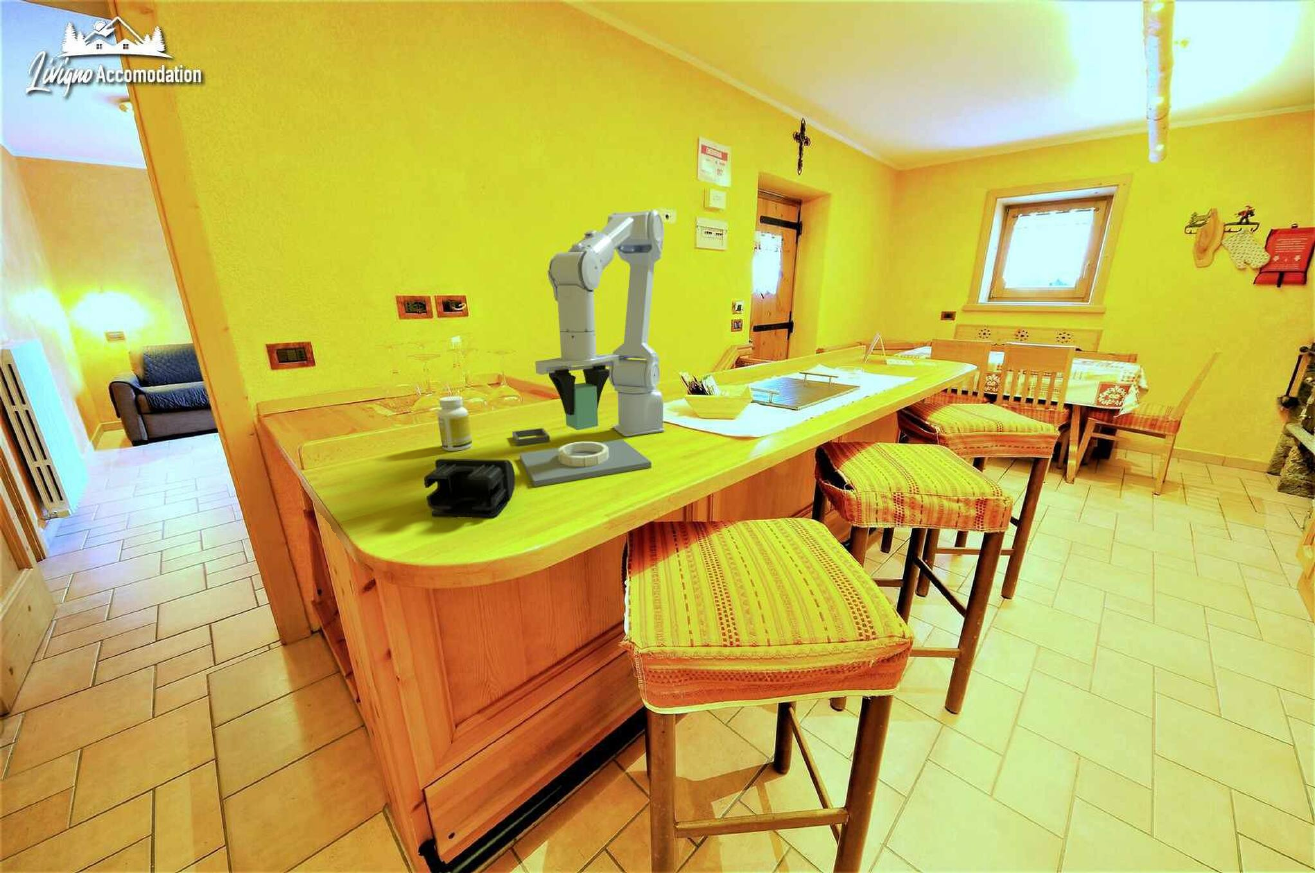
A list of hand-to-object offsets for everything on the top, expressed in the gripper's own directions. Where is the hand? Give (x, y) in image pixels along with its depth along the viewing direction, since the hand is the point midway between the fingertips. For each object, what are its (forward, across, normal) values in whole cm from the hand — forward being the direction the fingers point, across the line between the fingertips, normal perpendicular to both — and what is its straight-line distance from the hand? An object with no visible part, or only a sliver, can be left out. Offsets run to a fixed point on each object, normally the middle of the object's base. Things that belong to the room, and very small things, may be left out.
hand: (581, 411), depth 78 cm
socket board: (+9, 0, 0) cm, 9 cm away
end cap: (+10, +21, +5) cm, 24 cm away
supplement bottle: (+10, +15, -23) cm, 29 cm away
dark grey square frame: (+9, +2, -19) cm, 21 cm away
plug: (+2, 0, 0) cm, 2 cm away
